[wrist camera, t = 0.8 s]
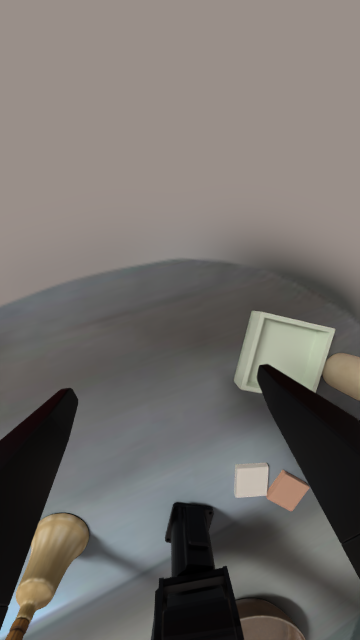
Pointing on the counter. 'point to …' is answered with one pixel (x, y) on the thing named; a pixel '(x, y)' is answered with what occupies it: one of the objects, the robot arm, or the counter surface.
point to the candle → (343, 374)
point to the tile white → (251, 480)
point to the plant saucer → (265, 621)
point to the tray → (283, 350)
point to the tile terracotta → (287, 490)
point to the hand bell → (47, 565)
